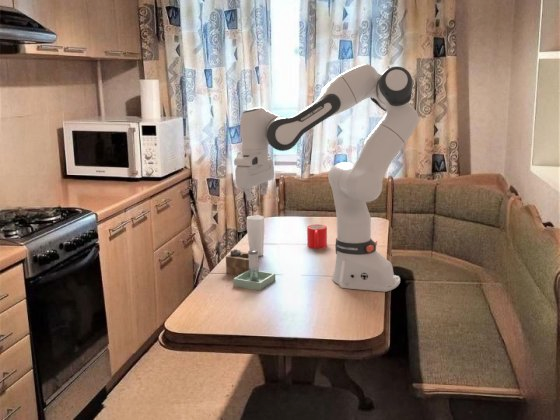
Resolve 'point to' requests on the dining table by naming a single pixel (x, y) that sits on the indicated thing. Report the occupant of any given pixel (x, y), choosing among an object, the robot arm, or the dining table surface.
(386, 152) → the robot arm
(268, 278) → the tray
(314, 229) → the mug
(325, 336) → the dining table surface
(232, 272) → the tensioner block
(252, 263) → the pin
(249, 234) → the white tall cup
